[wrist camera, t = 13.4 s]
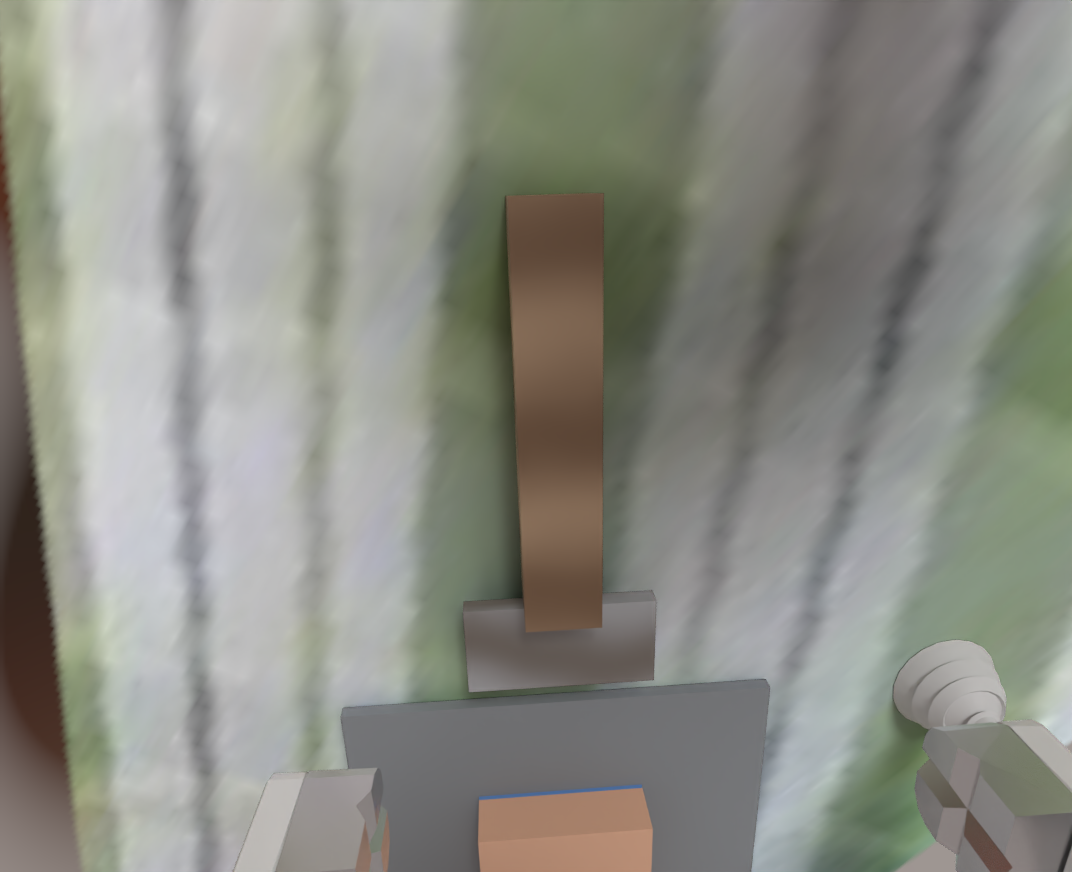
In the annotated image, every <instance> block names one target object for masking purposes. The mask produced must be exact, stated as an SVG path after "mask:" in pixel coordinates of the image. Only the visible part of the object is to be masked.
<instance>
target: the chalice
mask: <svg viewBox="0 0 1072 872" xmlns="http://www.w3.org/2000/svg"><path fill="white" fill-rule="evenodd" d="M893 699H894V702H895V704H896V707H897V710H898V711H899V712H900V713H901V714H902V715H903V716H904V717H905V718H907V719H909V720H911V721H914V722H916V723H918V724H920V725H921V726H922V727H923V728H926V729H928V730H930V729H931V728H932V727H942V726H954V725H966V724H978V723H990V722H993V723H997V722H1002V721H1003V719H1004V717H1005V711H1006V694H1005V691H1004V688H1003V687H1002V686H1001V682H1000V679H999V676H998V673H997V672H996V671H995V667H994V664H993V661H992V657H991V656H990V655H989V654H988V652H987V651H986V650H985V649H984V648H983V647H981V646H979V645H977V644H975V643H973V642H971V641H963V640H950V641H944V642H939V643H936V644H934V645H932V646H929V647H927V648H925V649H923V650H921V651H920V652H919V653H917V654H916V655H915V656H913V657H912V658H911V659H909V661H908V662H907V663H906V664H905V666H904V667H903V668H902V669H901V671H900V672H899V674H898V676H897V679H896V681H895V684H894V692H893Z"/></svg>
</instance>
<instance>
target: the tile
mask: <svg viewBox="0 0 1072 872" xmlns="http://www.w3.org/2000/svg"><path fill="white" fill-rule="evenodd" d="M652 838H653V828H652V824H651V820H650V816H649V812H648V808H647V804H646V800H645V796H644V792H643V788H642V785H629V786H615V787H602V788H589V789H576V790H562V791H549V792H536V793H522V794H509V795H496V796H483V797H479V823H478V847H479V860H480V872H651V867H652Z"/></svg>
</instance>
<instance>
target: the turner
mask: <svg viewBox="0 0 1072 872" xmlns="http://www.w3.org/2000/svg"><path fill="white" fill-rule="evenodd" d="M505 201H506V224H507V248H508V271H509V295H510V318H511V342H512V365H513V388H514V412H515V435H516V459H517V482H518V506H519V529H520V553H521V576H522V591H523V598H515V599H498V600H481V601H465V602H464V603H463V621H464V634H465V647H466V660H467V673H468V686H469V692H481V691H496V690H511V689H526V688H541V687H556V686H571V685H587V684H602V683H617V682H632V681H647V680H654V658H655V628H656V599H655V596H654V594H653V591H652V590H648V591H632V592H615V593H602V583H603V255H604V193H578V194H547V195H516V196H505Z"/></svg>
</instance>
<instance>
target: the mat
mask: <svg viewBox="0 0 1072 872" xmlns="http://www.w3.org/2000/svg"><path fill="white" fill-rule="evenodd" d="M769 695H770V686H769V685H768V683H767V681H766V679H759V680H744V681H730V682H715V683H700V684H686V685H671V686H656V687H642V688H627V689H612V690H598V691H583V692H568V693H554V694H539V695H524V696H510V697H495V698H480V699H466V700H451V701H436V702H422V703H407V704H392V705H378V706H363V707H348V708H343V710H342V714H341V723H342V729H343V736H344V742H345V748H346V755H347V761H348V767H349V769H362V768H379V769H380V770H381V774H382V780H383V785H384V789H383V795H382V801H381V806H382V807H384V808H385V809H386V810H387V813H388V821H389V838H390V843H389V861H388V870H387V872H480V860H479V847H478V823H479V797H483V796H496V795H509V794H522V793H536V792H549V791H562V790H576V789H589V788H602V787H615V786H629V785H642V788H643V792H644V796H645V800H646V804H647V808H648V812H649V816H650V820H651V824H652V828H653V838H652V867H651V872H751V868H752V859H753V849H754V839H755V830H756V820H757V810H758V801H759V791H760V781H761V772H762V762H763V753H764V743H765V733H766V724H767V714H768V704H769Z"/></svg>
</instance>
